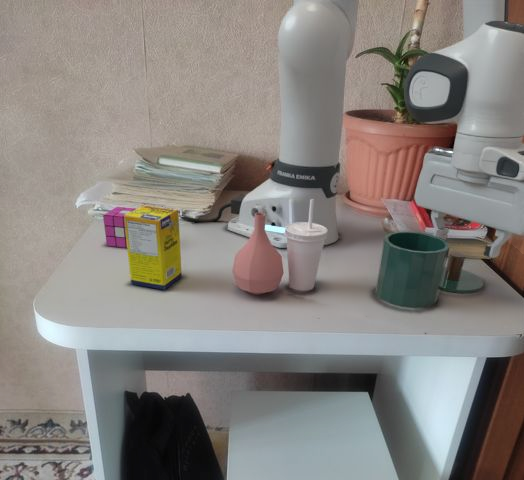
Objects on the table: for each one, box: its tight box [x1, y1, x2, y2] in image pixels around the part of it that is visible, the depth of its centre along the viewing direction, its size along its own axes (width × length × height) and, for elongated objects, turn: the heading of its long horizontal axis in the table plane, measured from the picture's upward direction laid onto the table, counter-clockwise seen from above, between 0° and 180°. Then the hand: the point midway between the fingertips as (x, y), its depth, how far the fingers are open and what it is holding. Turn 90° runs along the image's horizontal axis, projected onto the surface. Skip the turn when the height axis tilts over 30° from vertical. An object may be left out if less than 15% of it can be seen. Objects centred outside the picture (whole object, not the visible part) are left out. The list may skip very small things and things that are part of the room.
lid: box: [440, 251, 484, 294], centre depth 83 cm, size 10×10×5 cm
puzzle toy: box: [102, 206, 138, 249], centre depth 94 cm, size 6×6×6 cm
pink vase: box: [232, 213, 284, 296], centre depth 76 cm, size 8×8×12 cm
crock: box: [375, 230, 451, 309], centre depth 77 cm, size 9×9×9 cm
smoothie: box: [284, 199, 328, 292], centre depth 77 cm, size 6×6×14 cm
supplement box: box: [124, 205, 183, 291], centre depth 79 cm, size 6×6×11 cm
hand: (464, 247), depth 81 cm, fingers open, 8 cm apart
